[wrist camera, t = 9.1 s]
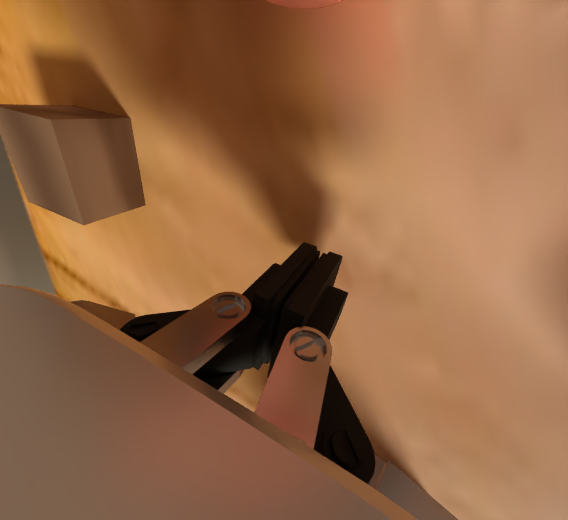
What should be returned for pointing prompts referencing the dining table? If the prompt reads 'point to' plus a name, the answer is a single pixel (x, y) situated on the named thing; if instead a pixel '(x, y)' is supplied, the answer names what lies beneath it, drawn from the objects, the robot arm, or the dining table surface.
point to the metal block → (73, 159)
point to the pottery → (303, 3)
